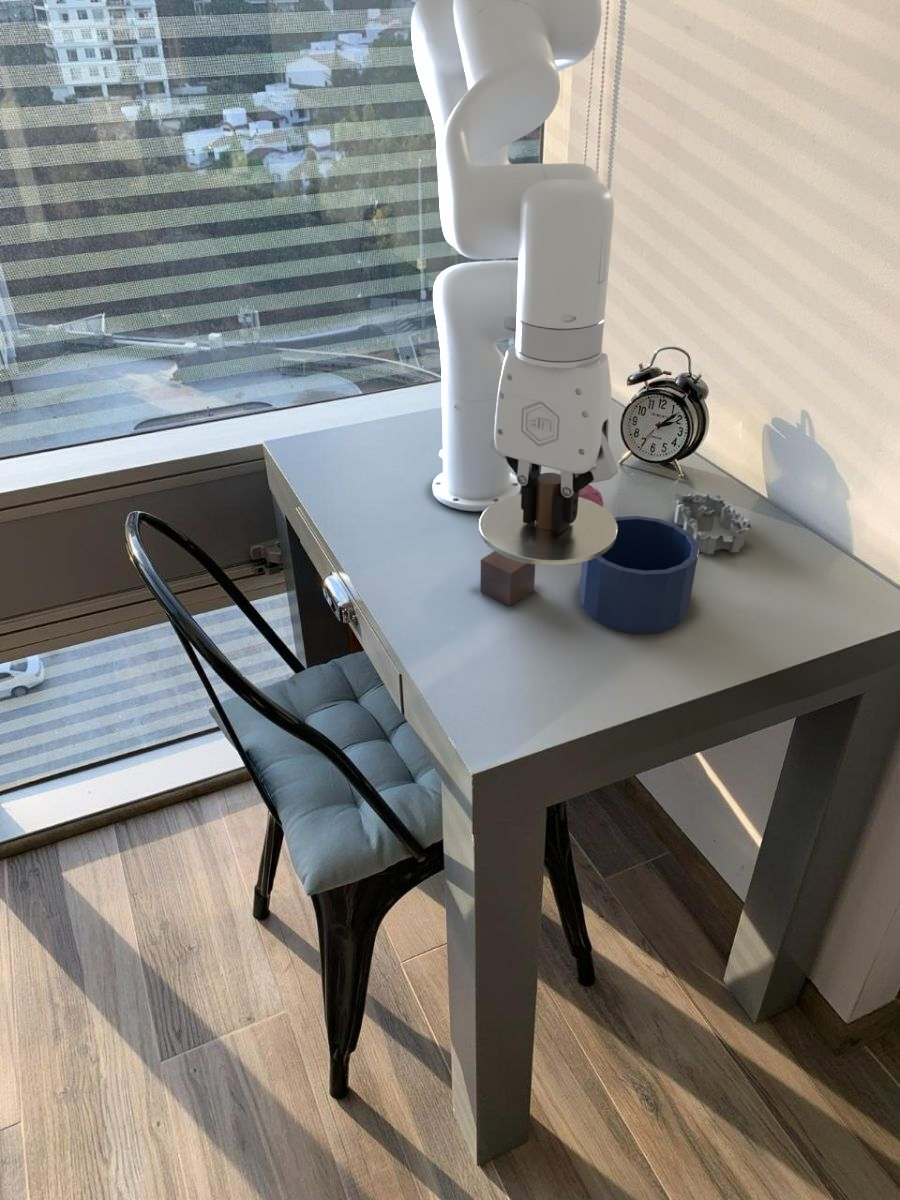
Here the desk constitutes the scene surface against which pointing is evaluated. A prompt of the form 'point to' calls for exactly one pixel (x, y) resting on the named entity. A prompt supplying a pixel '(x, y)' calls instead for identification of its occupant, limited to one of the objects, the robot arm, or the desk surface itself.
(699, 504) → the egg carton
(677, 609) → the blue bowl
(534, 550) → the lid
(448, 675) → the desk surface
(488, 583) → the block
